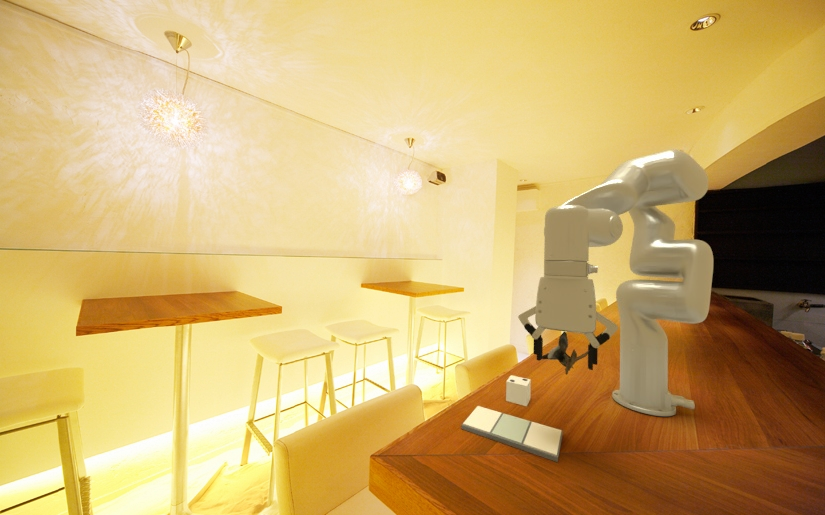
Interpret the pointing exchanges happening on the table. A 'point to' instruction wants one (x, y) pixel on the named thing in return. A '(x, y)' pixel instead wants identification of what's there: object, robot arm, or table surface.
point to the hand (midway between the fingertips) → (563, 362)
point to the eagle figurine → (563, 354)
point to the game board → (515, 432)
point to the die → (518, 390)
